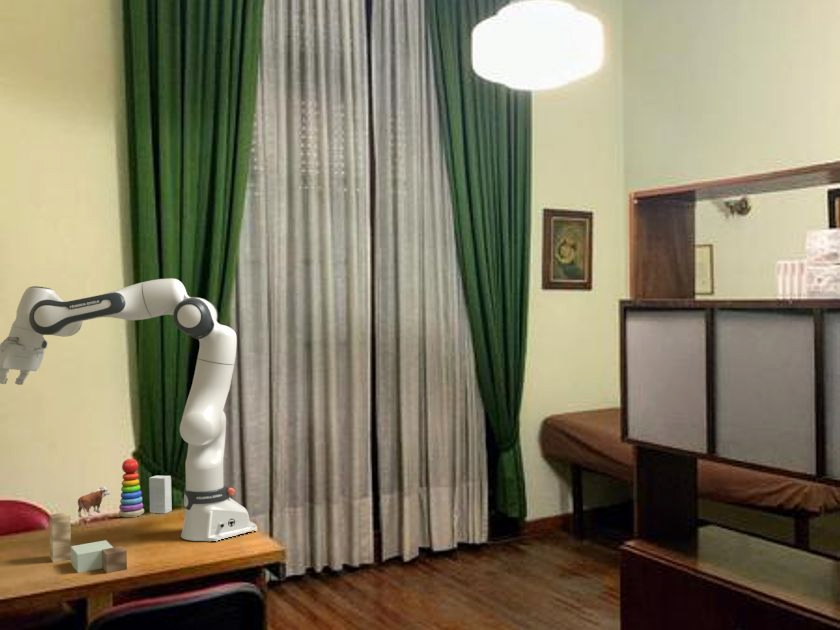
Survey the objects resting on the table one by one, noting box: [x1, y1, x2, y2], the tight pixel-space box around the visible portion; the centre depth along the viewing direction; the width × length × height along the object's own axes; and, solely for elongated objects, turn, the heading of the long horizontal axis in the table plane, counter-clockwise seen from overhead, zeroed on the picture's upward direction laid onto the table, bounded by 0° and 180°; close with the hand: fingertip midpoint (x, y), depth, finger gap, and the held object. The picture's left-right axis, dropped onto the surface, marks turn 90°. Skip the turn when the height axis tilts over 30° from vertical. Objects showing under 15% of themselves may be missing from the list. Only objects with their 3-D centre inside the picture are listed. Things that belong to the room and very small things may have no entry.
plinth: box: [70, 539, 114, 573], centre depth 206 cm, size 9×9×5 cm
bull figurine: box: [77, 486, 111, 518], centre depth 260 cm, size 4×13×8 cm, turn 161°
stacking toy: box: [118, 458, 145, 518], centre depth 258 cm, size 8×8×19 cm
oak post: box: [49, 511, 72, 563], centre depth 212 cm, size 4×4×12 cm
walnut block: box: [101, 545, 128, 574], centre depth 203 cm, size 5×5×5 cm
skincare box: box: [148, 475, 173, 515], centre depth 261 cm, size 6×4×12 cm
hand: (10, 384), depth 227 cm, fingers open, 8 cm apart
